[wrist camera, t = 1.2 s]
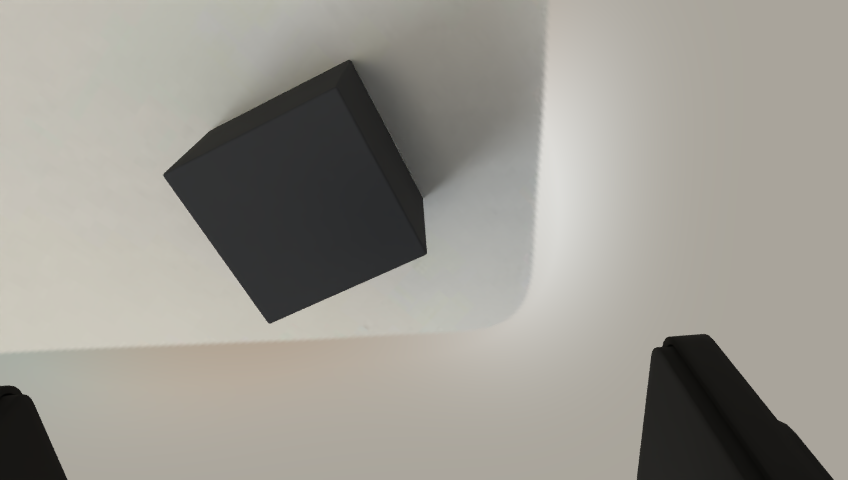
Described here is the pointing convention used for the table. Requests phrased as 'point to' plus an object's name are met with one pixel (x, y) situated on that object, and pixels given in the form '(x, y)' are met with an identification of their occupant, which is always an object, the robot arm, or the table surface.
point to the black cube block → (304, 194)
